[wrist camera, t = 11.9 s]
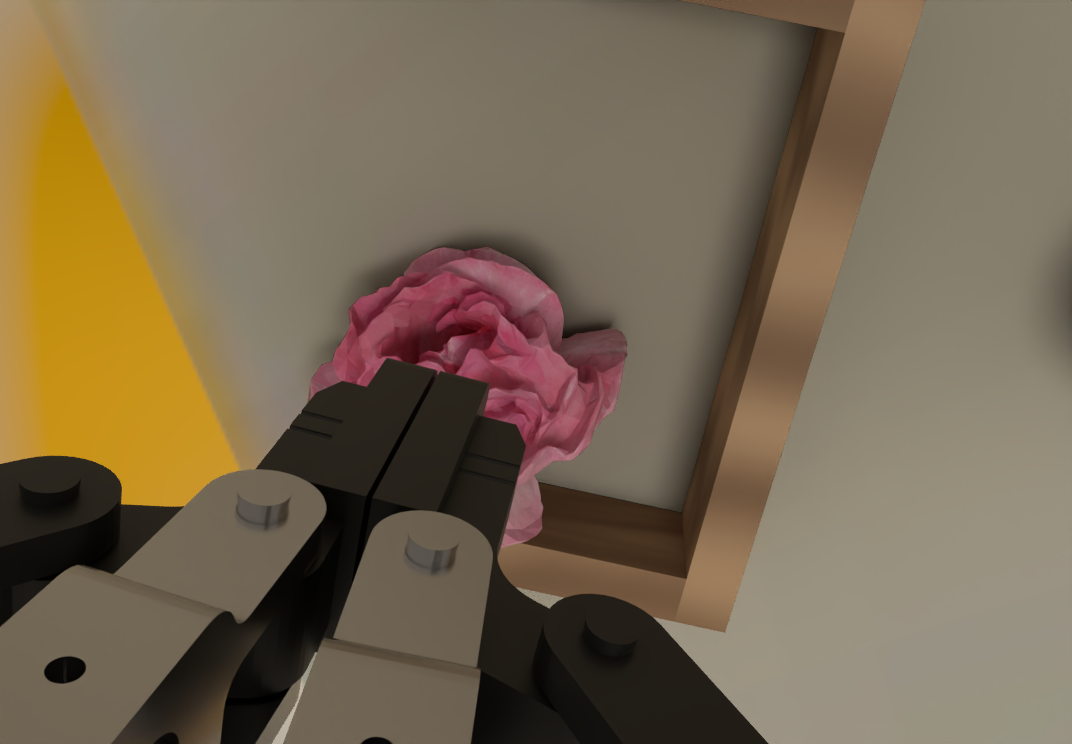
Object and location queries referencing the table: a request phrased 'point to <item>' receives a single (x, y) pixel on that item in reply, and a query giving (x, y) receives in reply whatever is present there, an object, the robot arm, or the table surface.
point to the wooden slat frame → (746, 342)
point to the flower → (491, 356)
